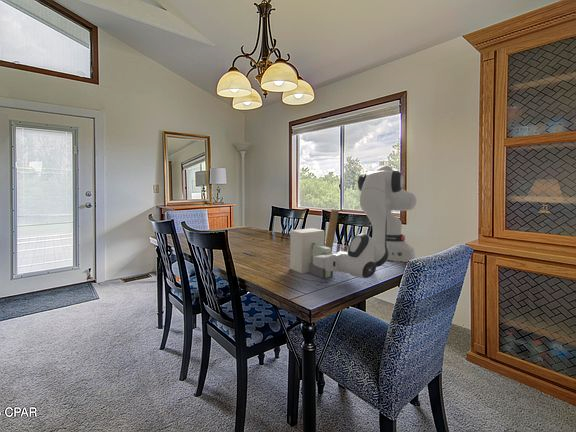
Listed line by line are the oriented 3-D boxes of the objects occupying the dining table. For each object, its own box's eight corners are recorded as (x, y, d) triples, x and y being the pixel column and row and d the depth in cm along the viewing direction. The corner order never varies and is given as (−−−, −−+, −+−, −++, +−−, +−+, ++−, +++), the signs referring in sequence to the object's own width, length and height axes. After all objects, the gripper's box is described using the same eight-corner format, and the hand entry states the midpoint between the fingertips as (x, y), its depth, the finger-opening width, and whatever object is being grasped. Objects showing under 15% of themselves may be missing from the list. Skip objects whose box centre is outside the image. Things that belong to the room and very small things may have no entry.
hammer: (343, 266, 173) (353, 214, 166) (338, 268, 169) (348, 215, 162) (316, 254, 186) (324, 205, 179) (311, 255, 183) (318, 206, 176)
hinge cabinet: (339, 274, 150) (339, 233, 148) (316, 279, 142) (316, 236, 140) (312, 264, 168) (312, 228, 166) (290, 268, 160) (290, 230, 158)
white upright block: (330, 277, 147) (331, 248, 145) (324, 278, 145) (324, 249, 143) (317, 271, 155) (317, 244, 154) (311, 273, 153) (311, 245, 152)
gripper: (359, 251, 142) (339, 246, 153) (325, 257, 131) (305, 251, 142) (359, 265, 143) (339, 258, 154) (324, 272, 132) (305, 264, 143)
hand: (322, 255), depth 148 cm, fingers open, 4 cm apart
